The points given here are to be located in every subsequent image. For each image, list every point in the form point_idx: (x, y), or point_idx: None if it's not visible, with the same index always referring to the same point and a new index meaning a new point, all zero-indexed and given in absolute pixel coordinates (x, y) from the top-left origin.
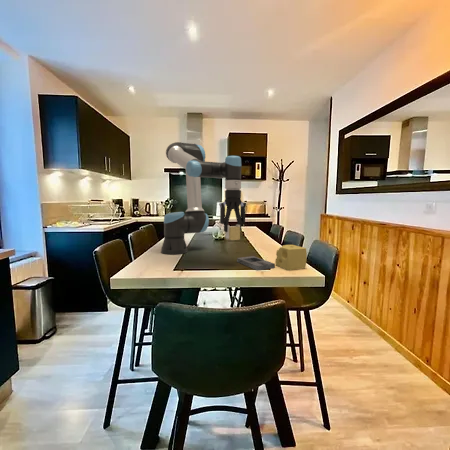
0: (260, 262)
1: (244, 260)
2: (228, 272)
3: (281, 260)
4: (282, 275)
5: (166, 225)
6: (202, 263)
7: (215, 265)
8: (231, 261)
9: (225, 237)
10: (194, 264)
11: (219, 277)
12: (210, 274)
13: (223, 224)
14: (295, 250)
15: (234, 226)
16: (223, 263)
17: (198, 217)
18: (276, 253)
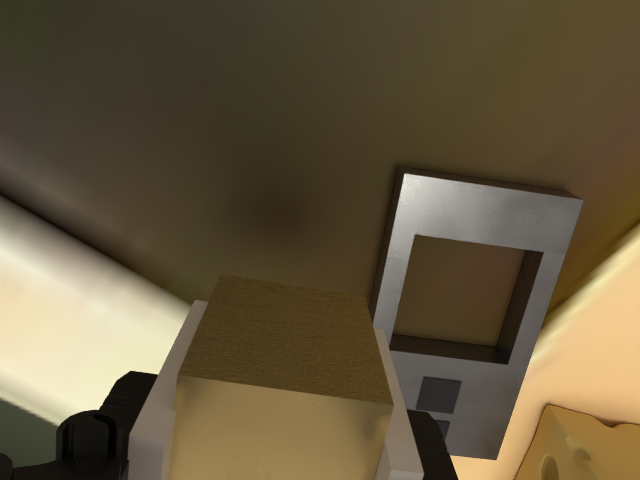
0: (440, 394)
1: (391, 281)
2: (153, 362)
3: None
4: None
5: None
6: (93, 29)
7: (166, 161)
8: (369, 124)
9: (192, 306)
10: (7, 17)
11: (46, 412)
12: (19, 337)
13: (51, 463)
14: None
15: (335, 450)
16: (264, 143)
17: None
18: (590, 475)
